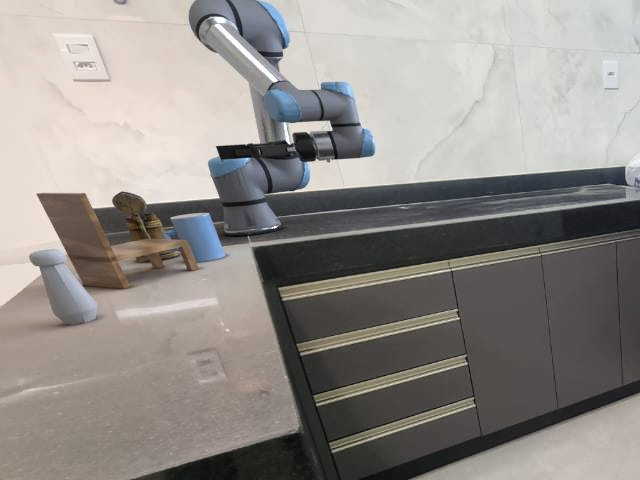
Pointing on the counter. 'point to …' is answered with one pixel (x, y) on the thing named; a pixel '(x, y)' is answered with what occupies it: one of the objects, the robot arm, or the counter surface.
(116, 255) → the wooden chair
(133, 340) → the counter surface
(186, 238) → the blue cup
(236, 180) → the robot arm
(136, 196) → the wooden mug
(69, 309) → the salt shaker
